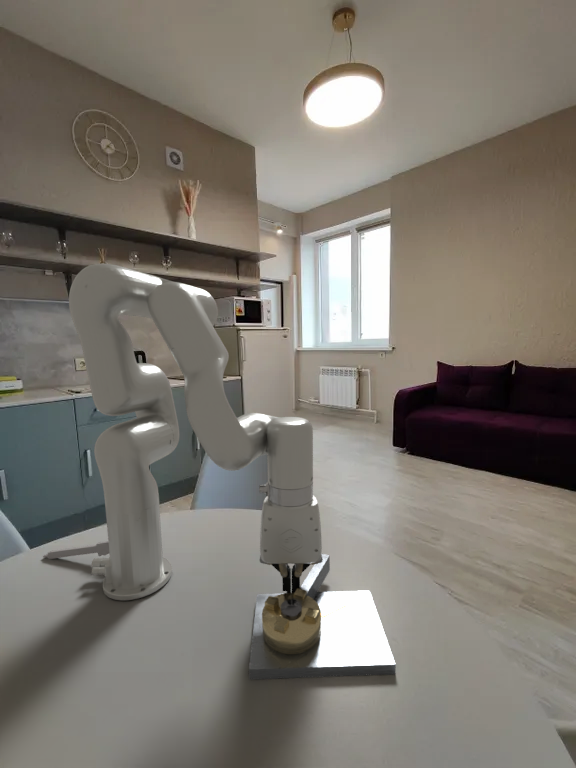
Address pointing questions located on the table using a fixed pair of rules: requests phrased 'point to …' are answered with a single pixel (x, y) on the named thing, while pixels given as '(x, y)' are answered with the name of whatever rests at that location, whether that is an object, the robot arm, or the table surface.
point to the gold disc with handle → (295, 614)
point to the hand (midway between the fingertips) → (291, 593)
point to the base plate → (328, 642)
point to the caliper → (80, 551)
